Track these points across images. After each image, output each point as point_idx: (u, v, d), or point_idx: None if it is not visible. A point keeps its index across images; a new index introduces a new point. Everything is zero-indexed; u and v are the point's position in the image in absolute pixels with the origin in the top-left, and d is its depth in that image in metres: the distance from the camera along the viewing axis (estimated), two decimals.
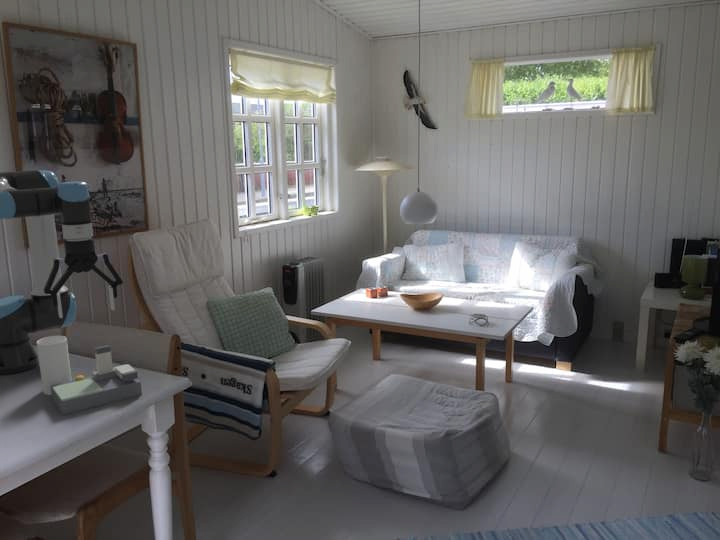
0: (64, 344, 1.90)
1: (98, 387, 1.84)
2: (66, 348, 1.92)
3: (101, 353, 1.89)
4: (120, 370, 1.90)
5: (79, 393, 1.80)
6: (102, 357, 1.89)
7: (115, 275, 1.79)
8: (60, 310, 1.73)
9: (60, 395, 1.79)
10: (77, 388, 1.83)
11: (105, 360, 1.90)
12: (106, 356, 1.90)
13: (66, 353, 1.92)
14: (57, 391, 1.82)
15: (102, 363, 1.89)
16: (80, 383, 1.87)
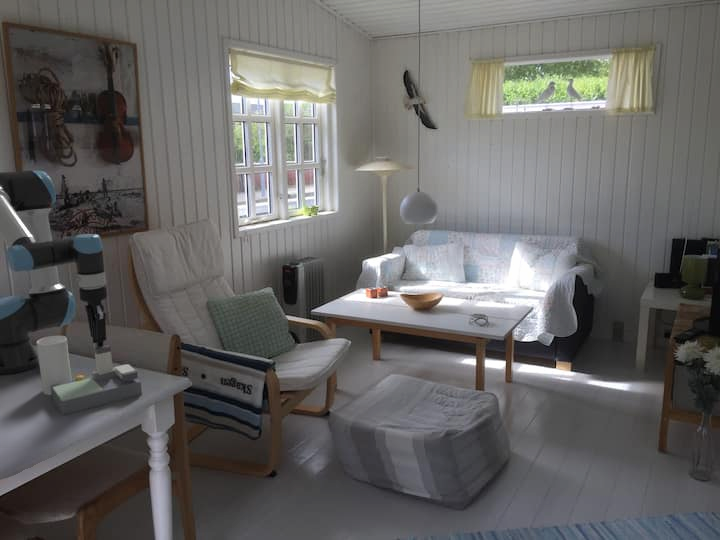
0: (64, 344, 1.90)
1: (98, 387, 1.84)
2: (66, 348, 1.92)
3: (101, 353, 1.89)
4: (120, 370, 1.90)
5: (79, 393, 1.80)
6: (102, 357, 1.89)
7: (96, 332, 1.88)
8: None
9: (60, 395, 1.79)
10: (77, 388, 1.83)
11: (105, 360, 1.90)
12: (106, 356, 1.90)
13: (66, 353, 1.92)
14: (57, 391, 1.82)
15: (102, 363, 1.89)
16: (80, 383, 1.87)
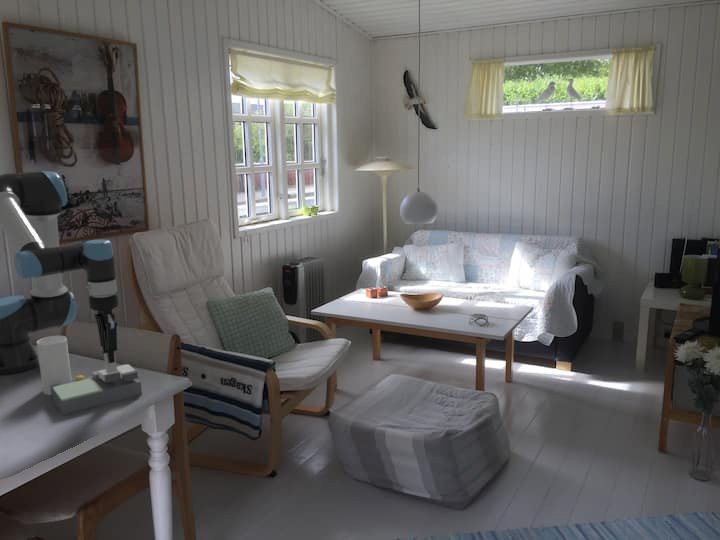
0: (64, 344, 1.90)
1: (98, 387, 1.84)
2: (66, 348, 1.92)
3: None
4: (120, 370, 1.90)
5: (79, 393, 1.80)
6: None
7: (107, 342, 1.80)
8: (105, 365, 1.84)
9: (60, 395, 1.79)
10: (77, 388, 1.83)
11: None
12: None
13: (66, 353, 1.92)
14: (57, 391, 1.82)
15: None
16: (80, 383, 1.87)
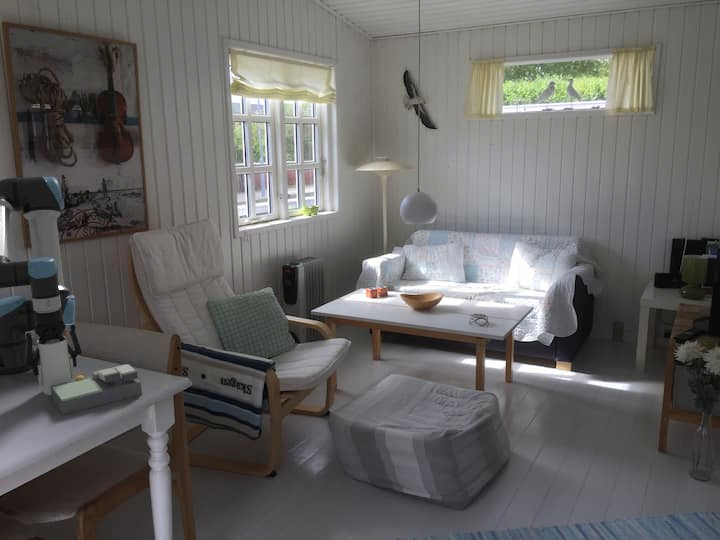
0: (64, 344, 1.90)
1: (98, 387, 1.84)
2: (66, 348, 1.92)
3: None
4: (120, 370, 1.90)
5: (79, 393, 1.80)
6: None
7: (76, 345, 1.95)
8: (41, 379, 1.90)
9: (60, 395, 1.79)
10: (77, 388, 1.83)
11: None
12: None
13: (66, 353, 1.92)
14: (57, 391, 1.82)
15: None
16: (80, 383, 1.87)
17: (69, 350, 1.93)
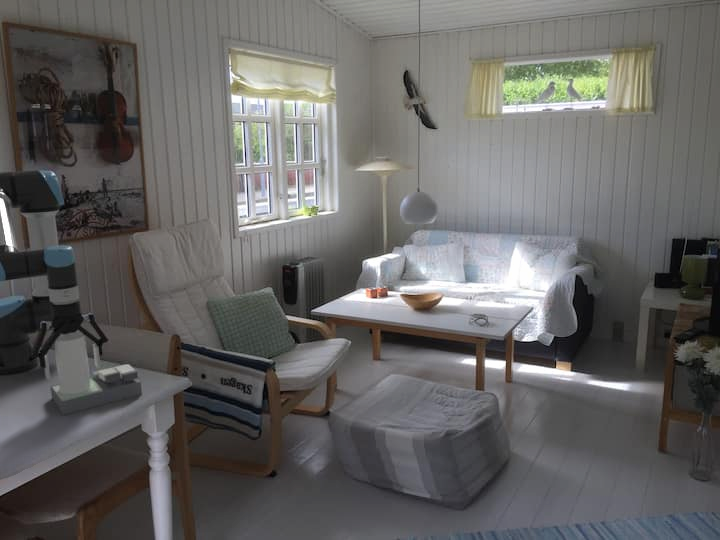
0: (82, 340, 1.79)
1: (98, 387, 1.84)
2: (84, 345, 1.81)
3: None
4: (120, 370, 1.90)
5: (79, 393, 1.80)
6: None
7: (100, 334, 1.84)
8: (48, 372, 1.77)
9: (60, 395, 1.79)
10: None
11: None
12: None
13: (84, 350, 1.81)
14: (57, 391, 1.82)
15: None
16: None
17: (93, 339, 1.83)
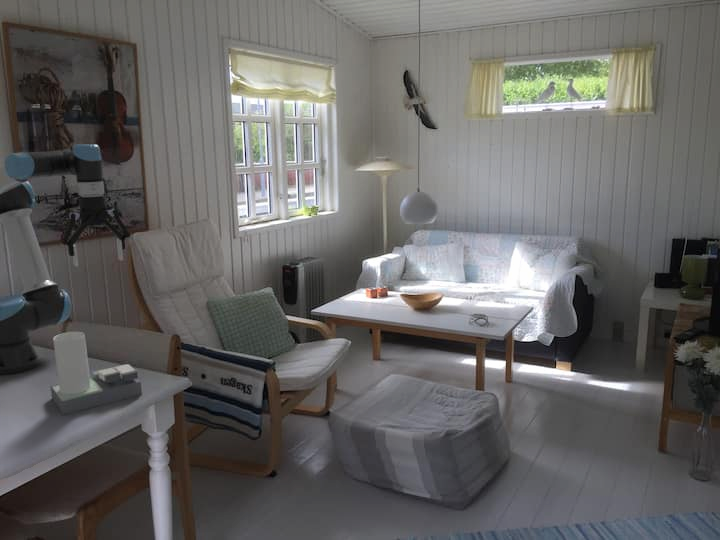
0: (82, 340, 1.79)
1: (98, 387, 1.84)
2: (84, 345, 1.81)
3: None
4: (120, 370, 1.90)
5: (79, 393, 1.80)
6: None
7: (123, 229, 2.01)
8: (76, 259, 1.94)
9: (60, 395, 1.79)
10: None
11: None
12: None
13: (84, 350, 1.81)
14: (57, 391, 1.82)
15: None
16: None
17: (117, 233, 2.00)
